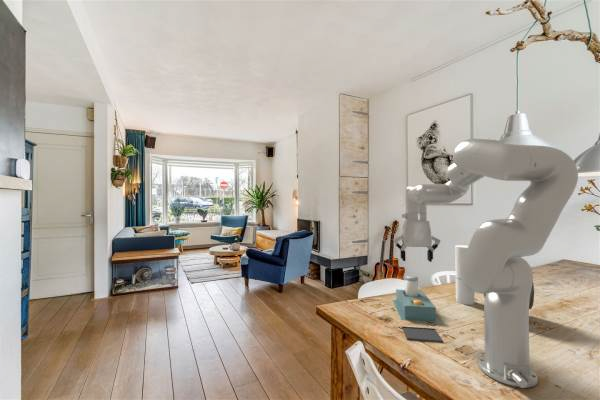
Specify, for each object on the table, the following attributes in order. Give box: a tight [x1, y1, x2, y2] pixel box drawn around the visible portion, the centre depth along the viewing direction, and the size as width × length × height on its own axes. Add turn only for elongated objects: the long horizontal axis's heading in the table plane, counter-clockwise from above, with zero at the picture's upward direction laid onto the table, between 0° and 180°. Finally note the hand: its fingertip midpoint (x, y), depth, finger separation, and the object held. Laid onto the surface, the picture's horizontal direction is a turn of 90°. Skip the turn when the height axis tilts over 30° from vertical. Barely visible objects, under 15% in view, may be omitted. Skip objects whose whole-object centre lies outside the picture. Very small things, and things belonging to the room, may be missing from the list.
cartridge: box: [404, 275, 419, 297], centre depth 115 cm, size 5×5×12 cm
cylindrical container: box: [454, 244, 475, 306], centre depth 122 cm, size 7×7×25 cm
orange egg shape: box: [413, 300, 422, 305], centre depth 105 cm, size 3×3×4 cm
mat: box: [401, 326, 444, 343], centre depth 94 cm, size 11×11×1 cm
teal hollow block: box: [392, 288, 441, 323], centre depth 111 cm, size 21×14×6 cm, turn 170°
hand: (416, 260), depth 106 cm, fingers open, 9 cm apart
